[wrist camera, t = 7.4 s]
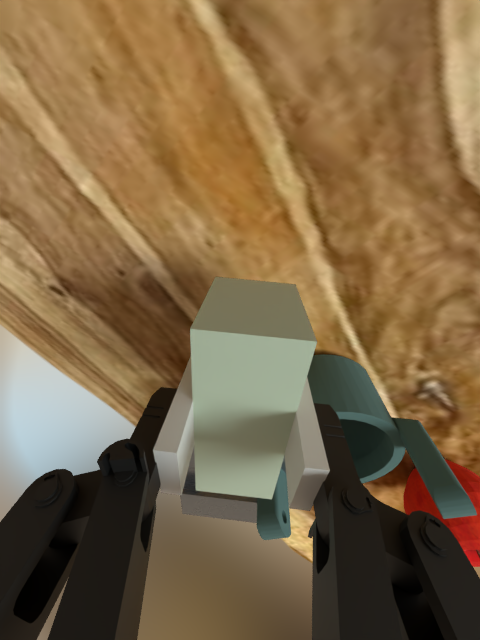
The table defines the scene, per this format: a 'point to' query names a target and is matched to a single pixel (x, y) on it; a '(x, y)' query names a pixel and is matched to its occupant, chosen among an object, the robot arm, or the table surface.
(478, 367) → the table surface
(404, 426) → the bracket
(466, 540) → the apple
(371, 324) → the table surface
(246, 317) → the block
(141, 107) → the table surface
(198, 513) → the endcap
